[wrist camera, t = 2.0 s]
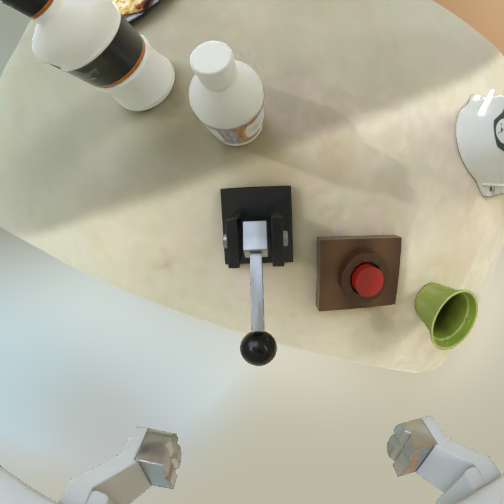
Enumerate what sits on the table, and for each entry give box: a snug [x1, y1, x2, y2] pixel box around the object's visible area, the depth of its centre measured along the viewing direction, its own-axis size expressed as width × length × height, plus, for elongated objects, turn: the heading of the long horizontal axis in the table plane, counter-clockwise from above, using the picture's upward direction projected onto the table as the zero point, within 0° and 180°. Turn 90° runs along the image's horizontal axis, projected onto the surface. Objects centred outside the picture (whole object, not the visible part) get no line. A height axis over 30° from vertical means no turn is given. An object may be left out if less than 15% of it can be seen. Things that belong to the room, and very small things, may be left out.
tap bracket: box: [221, 186, 293, 268], centre depth 31 cm, size 10×9×13 cm
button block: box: [316, 235, 401, 311], centre depth 36 cm, size 12×10×4 cm
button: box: [352, 264, 384, 297], centre depth 33 cm, size 4×4×2 cm
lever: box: [240, 221, 277, 366], centre depth 25 cm, size 13×3×3 cm, turn 3°
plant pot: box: [415, 283, 478, 350], centre depth 34 cm, size 9×9×9 cm
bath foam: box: [189, 41, 264, 146], centre depth 24 cm, size 7×7×20 cm
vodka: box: [0, 0, 175, 111], centre depth 18 cm, size 9×9×30 cm
